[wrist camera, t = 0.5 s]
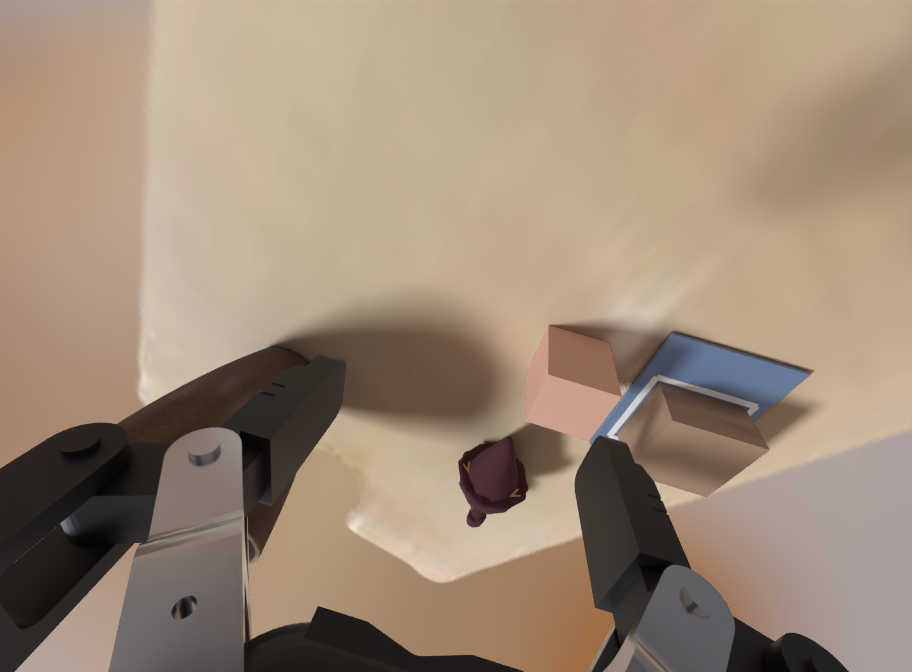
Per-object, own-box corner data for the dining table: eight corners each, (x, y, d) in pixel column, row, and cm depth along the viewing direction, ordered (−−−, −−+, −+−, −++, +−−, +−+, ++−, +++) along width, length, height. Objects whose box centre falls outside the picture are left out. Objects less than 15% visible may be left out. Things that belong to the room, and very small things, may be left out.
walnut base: (659, 382, 28) (672, 420, 25) (745, 408, 28) (769, 449, 25) (617, 433, 33) (624, 471, 30) (691, 456, 32) (706, 497, 29)
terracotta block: (548, 324, 28) (548, 374, 23) (609, 342, 28) (621, 396, 23) (527, 368, 31) (524, 420, 26) (583, 385, 31) (588, 440, 26)
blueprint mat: (671, 331, 26) (673, 335, 26) (806, 370, 26) (810, 375, 25) (589, 440, 35) (590, 445, 34) (689, 471, 34) (691, 476, 34)
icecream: (454, 449, 30) (437, 516, 40) (537, 495, 28) (496, 552, 38) (487, 393, 34) (464, 465, 45) (559, 429, 32) (518, 496, 43)
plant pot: (346, 436, 43) (263, 583, 31) (232, 392, 43) (100, 523, 30) (362, 350, 34) (252, 511, 21) (217, 294, 34) (19, 424, 21)
